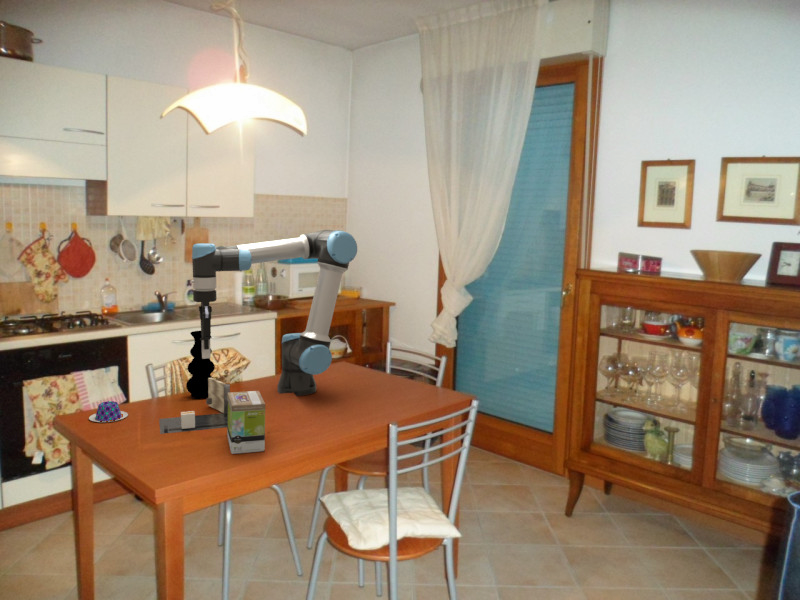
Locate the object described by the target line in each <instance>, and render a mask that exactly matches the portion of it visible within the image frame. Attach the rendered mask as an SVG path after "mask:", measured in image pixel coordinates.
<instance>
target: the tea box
mask: <svg viewBox="0 0 800 600" xmlns="http://www.w3.org/2000/svg"><path fill="white" fill-rule="evenodd" d="M226 428H227V429H226V434H227V435H226V437H227V441H228V445H229V449H230V453H231V454H232V455H233V454H235V455H236V454H246V453H249V454H250V453H257V452H258V453H259V452H264V451H265V448H266V446H265V445H266V443H265V442H266V441H265V440H266V438H265V437H266V402H265V401H264V398H263V397H262V395H261V392H260V390H252V391H251V390H250V391H249V390H247V391H233V392H232V391H230V393H228V394H227V427H226Z"/></svg>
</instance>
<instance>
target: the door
mask: <svg viewBox="0 0 800 600" xmlns="http://www.w3.org/2000/svg"><path fill="white" fill-rule="evenodd" d="M230 392H231V384H227V383H226V382H223V381H220V380H218V379H216V378H214V377H213V378H208V398H205V399H206V401H205V404H206V405H207V406H208V407H210V408H212V409H214V410H216V411H219V413H224V414H225V415H227V394H228V393H230Z"/></svg>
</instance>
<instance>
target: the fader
mask: <svg viewBox="0 0 800 600" xmlns="http://www.w3.org/2000/svg"><path fill="white" fill-rule="evenodd" d="M195 416H196V413H195V410H191V411H190V410H188V411H180V417H181V428H182V429H186V428H195Z"/></svg>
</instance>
